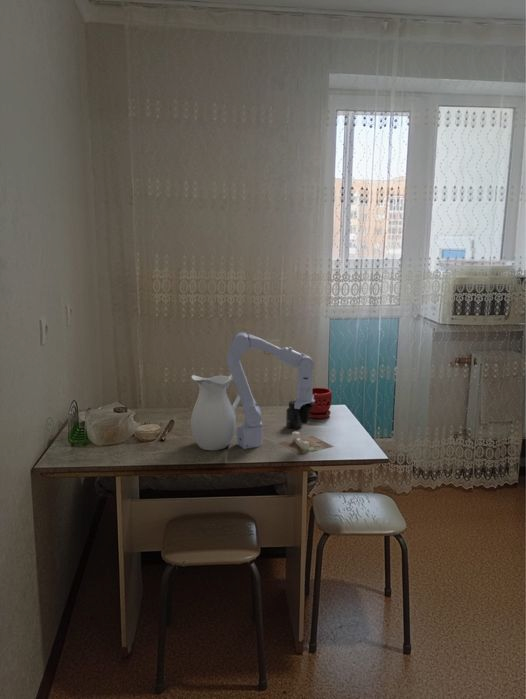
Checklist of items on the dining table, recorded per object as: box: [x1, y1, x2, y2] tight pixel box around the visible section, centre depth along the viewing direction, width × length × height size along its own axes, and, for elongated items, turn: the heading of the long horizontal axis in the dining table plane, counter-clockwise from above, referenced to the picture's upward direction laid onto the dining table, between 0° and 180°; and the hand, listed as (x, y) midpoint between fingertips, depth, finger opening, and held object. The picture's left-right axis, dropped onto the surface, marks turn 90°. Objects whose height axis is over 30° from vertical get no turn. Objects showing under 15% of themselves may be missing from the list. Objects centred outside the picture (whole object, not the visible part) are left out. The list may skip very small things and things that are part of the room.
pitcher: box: [190, 373, 248, 451], centre depth 203 cm, size 24×17×28 cm
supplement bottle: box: [285, 400, 303, 430], centre depth 221 cm, size 7×7×12 cm
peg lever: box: [291, 431, 309, 451], centre depth 199 cm, size 12×3×3 cm, turn 18°
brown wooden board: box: [279, 435, 334, 455], centre depth 201 cm, size 16×14×1 cm
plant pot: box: [308, 387, 333, 419], centre depth 241 cm, size 13×13×12 cm
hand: (303, 422), depth 200 cm, fingers closed
